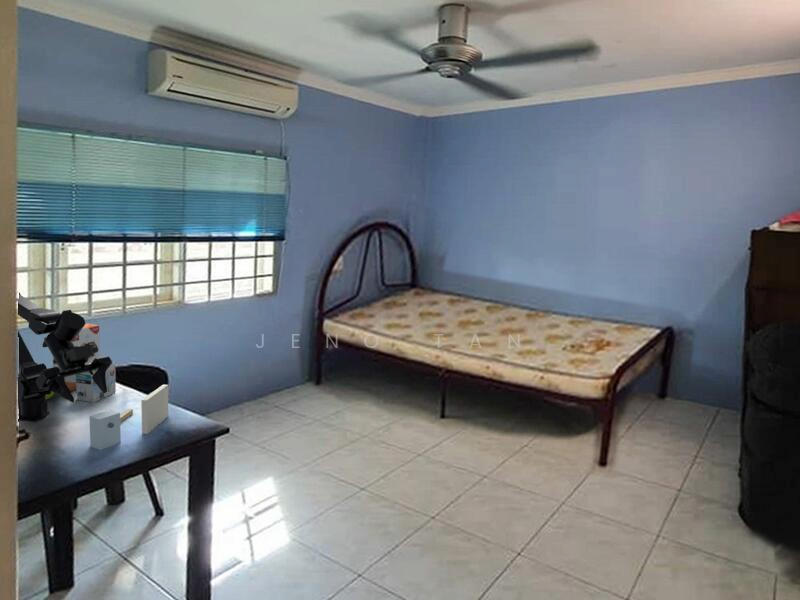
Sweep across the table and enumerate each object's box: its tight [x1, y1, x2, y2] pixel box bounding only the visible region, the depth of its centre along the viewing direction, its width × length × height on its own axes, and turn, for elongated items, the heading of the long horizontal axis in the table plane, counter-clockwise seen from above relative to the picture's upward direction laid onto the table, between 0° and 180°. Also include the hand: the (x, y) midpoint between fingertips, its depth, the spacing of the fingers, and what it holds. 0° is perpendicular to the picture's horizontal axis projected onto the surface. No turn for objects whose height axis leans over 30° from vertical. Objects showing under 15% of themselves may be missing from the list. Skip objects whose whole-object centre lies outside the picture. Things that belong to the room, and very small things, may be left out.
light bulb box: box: [76, 361, 117, 403], centre depth 186 cm, size 11×7×11 cm, turn 168°
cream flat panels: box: [120, 384, 169, 435], centre depth 166 cm, size 12×14×10 cm
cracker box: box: [52, 323, 101, 392], centre depth 194 cm, size 14×6×21 cm, turn 160°
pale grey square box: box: [89, 409, 122, 451], centre depth 151 cm, size 5×6×8 cm
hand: (90, 396), depth 153 cm, fingers open, 9 cm apart
